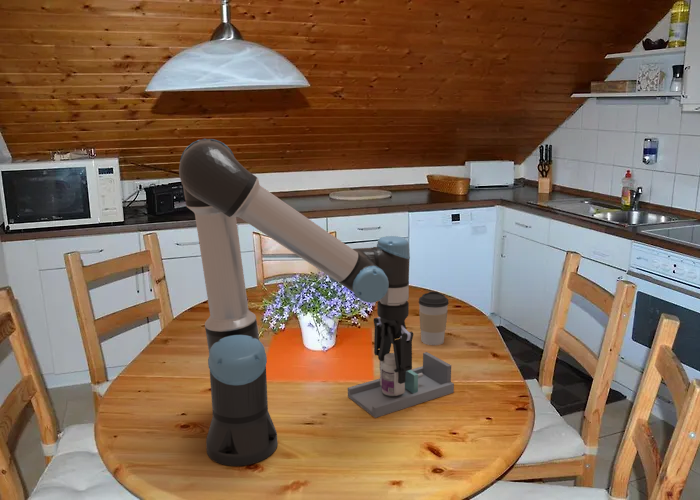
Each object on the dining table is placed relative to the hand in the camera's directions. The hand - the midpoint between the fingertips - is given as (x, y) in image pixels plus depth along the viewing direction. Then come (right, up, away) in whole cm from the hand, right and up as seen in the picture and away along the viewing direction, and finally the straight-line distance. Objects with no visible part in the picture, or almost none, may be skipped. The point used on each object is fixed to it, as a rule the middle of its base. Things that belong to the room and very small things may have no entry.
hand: (392, 388), depth 153 cm
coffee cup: (+15, +6, +36) cm, 39 cm away
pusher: (+6, 0, +4) cm, 7 cm away
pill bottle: (0, -1, 0) cm, 1 cm away
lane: (+2, -2, +2) cm, 4 cm away
